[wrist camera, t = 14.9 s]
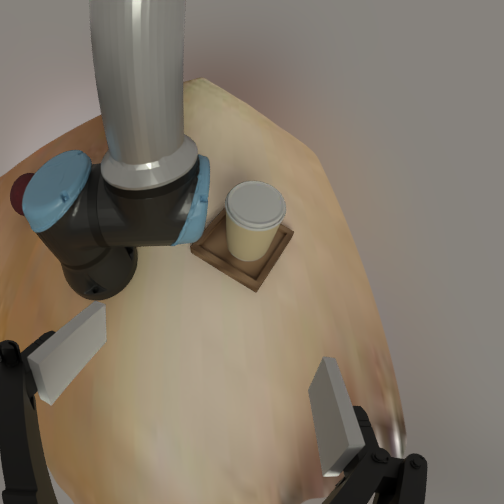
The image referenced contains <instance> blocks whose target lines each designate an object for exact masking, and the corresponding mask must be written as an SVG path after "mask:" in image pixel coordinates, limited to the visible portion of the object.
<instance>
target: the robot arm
mask: <svg viewBox="0 0 504 504" xmlns="http://www.w3.org/2000/svg"><path fill="white" fill-rule="evenodd" d="M89 4H90V5H89V7H90V29H91V42H92V53H93V63H94V70H95V78H96V85H97V91H98V98H99V103H100V109H101V115H102V120H103V125H104V130H105V134H106V139H107V143H108V148H109V150H108V151H107V152H106V154H105V155H104V157H103V159H102V162H101V164H92V163H91V159H90V157H88V156H87V155H86V154H85V153H83V152H82V151H80V150H70V151H66V152H63V153H61V154H59V155H57V156H55V157H53V158H52V159H50V160H49V161H48V162H46V163H45V164H44V165H43V166H42V167H41V168H40V169H39V170H38V171H37V172H36V173H35V174H34V176H33V177H32V178H31V180H30V181H29V183H28V185H27V187H26V189H25V192H24V195H23V200H22V209H23V213H24V215H25V217H26V218H27V220H28V222H29V223H30V226H31V229H32V230H33V231H34V232H35V233H36V234H37V235H38V236H39V238H40V239H41V240H42V241H43V242H44V244H45V245H46V246H47V247H48V248H49V249H50V251H51V252H52V253H53V254H54V255H55V256H56V257H57V259H58V260H59V261H60V262H61V265H62V269H63V272H64V276H65V278H66V280H67V282H68V284H69V285H70V287H71V288H72V289H73V290H74V291H75V292H76V293H77V294H79V295H80V296H82V297H84V298H86V299H89V300H104V299H107V298H110V297H112V296H114V295H116V294H118V293H119V292H120V291H122V290H123V289H124V288H125V287H126V286H127V285H128V283H129V282H130V280H131V279H132V277H133V275H134V273H135V270H136V267H137V250H136V247H138V246H175V245H177V244H186V243H193V242H196V241H197V240H199V239H200V237H201V236H202V234H203V231H204V227H205V222H206V216H207V207H208V199H207V198H208V193H209V184H210V163H209V159H208V158H207V157H206V156H202V155H199V154H198V149H197V146H196V144H195V142H194V141H193V140H192V139H191V138H190V137H188V136H187V135H185V134H184V115H183V53H184V24H185V7H186V0H89ZM106 341H107V339H106V304H103V303H100V302H98V301H94V302H93V303H92V304H90V305H89V306H88V307H87V308H85V309H84V310H83V311H82V312H80V313H79V314H78V315H77V316H75V317H74V318H73V319H72V320H70V321H69V322H68V323H67V324H66V325H64V326H63V327H62V328H61V329H60V330H58V331H57V332H54V331H50V332H47V333H44V334H43V335H42V336H41V337H39V339H37V340H36V341H35V342H34V343H32V344H31V345H30V346H28V347H27V348H26V349H25V350H24V351H23V352H21V353H20V349H19V345H18V344H17V343H16V342H14V341H11V340H5V341H2V342H0V453H1V462H2V469H3V475H4V481H5V486H6V488H5V490H4V491H2V499H3V503H4V504H58V502H57V499H56V496H55V493H54V490H53V487H52V484H51V480H50V476H49V473H48V469H47V465H46V461H45V457H44V452H43V447H42V442H41V437H40V431H39V425H38V417H37V410H36V400H35V396H34V394H35V393H36V392H37V391H38V393H39V396H40V399H42V400H43V401H45V402H47V403H48V404H50V405H52V404H53V403H54V402H55V400H56V399H57V398H58V397H59V396H60V394H61V393H62V392H63V391H64V390H65V388H66V387H67V386H68V385H69V384H70V383H71V381H72V380H73V379H74V378H75V377H76V375H77V374H78V373H79V372H80V371H81V370H82V369H83V367H84V366H85V365H86V364H87V363H88V362H89V360H90V359H91V358H92V357H93V356H94V355H95V354H96V353H97V351H98V350H99V349H100V348H101V347H102V346H103V345H104V344H105V342H106ZM308 393H309V398H310V404H311V409H312V415H313V420H314V426H315V431H316V437H317V443H318V449H319V455H320V461H321V467H322V473H323V476H338V475H339V474H340V473H341V472H342V471H344V475H345V476H344V477H343V479H342V480H341V481H340V482H339V483H338V484H337V485H335V486H336V487H335V489H334V490H333V491H332V492H331V493H330V495H329V496H328V497H327V498H326V499H325V501H324V502H323V503H322V504H367V503H368V501H369V500H370V498H371V497H372V495H373V493H374V492H375V497H374V500H373V504H424V501H425V492H426V481H427V461H426V460H425V458H424V457H422V456H421V455H419V454H410V455H409V456H407V457H406V458H405V459H400V458H393V457H391V456H390V454H389V453H388V452H387V451H386V450H385V449H383V448H380V447H379V445H378V442H377V440H376V437H375V434H374V431H373V429H372V427H371V424H370V421H369V418H368V416H367V413H366V412H365V411H364V410H363V408H362V407H361V406H352V404H351V401H350V398H349V395H348V392H347V389H346V387H345V384H344V381H343V378H342V376H341V373H340V370H339V367H338V365H337V362H336V359H335V358H330V357H323V358H322V360H321V363H320V365H319V367H318V370H317V372H316V374H315V376H314V379H313V381H312V383H311V385H310V387H309V389H308Z"/></svg>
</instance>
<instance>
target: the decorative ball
mask: <svg viewBox="0 0 504 504" xmlns="http://www.w3.org/2000/svg"><path fill="white" fill-rule="evenodd" d="M33 176H34V173H26V174H23V175H21V176H20V177H19V178H18V179H17V180H16V181H15V182H14V184H13V186H12V188H11V193H10V201H11V204H12V207H13V208H14V210H15V211H16V212H17V213H19V214H20V215H23V216H25V215H24V213H23V209H22V200H23V195H24V192H25V189H26V187H27V185H28V183H29V181H30V180H31V178H32V177H33Z"/></svg>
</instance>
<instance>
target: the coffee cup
mask: <svg viewBox="0 0 504 504" xmlns="http://www.w3.org/2000/svg"><path fill="white" fill-rule="evenodd" d="M225 208H226V237H227V246H228V249H229V251H230V252H231V254H232V255H233V256H234V257H236V258H238V259H240V260H242V261H255V260H258V259H260V258H261V257H262V256H264V255H265V253H266V252H267V250H268V248H269V246H270V244H271V242H272V240H273V238H274V236H275V234H276V232H277V230H278V228H279V225H280V223H281V222H282V220H283V218H284V216H285V213H286V204H285V201H284V198H283V196H282V195H281V193H280V192H279V191H278V190H277V189H275V188H274V187H273V186H271V185H269V184H267V183H264V182H260V181H247V182H243V183H240V184H238V185H236V186H235V187H234V188H233V189H232V190H231V191H230V192H229V193H228V195H227V197H226V200H225Z"/></svg>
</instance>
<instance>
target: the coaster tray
mask: <svg viewBox="0 0 504 504" xmlns="http://www.w3.org/2000/svg"><path fill="white" fill-rule="evenodd" d="M293 234H294V231H292V230H290V229H289V228H287V227H285V226H283V225H281V224H280V225H279V228H278V230H277V232H276V234H275V236H274V238H273V240H272V242H271V244H270V246H269V248H268V250H267V252H266V253H265V255H264V256H262V257H261V258H260V259H258V260H255V261H242V260H240V259H238V258H236V257H234V256H233V255H232V254H231V252H230V251H229V249H228V246H227V237H226V208H224V209H223V210H222V211H221V212H220V213H219V214H218V216H217V217H216V218H215V219H214V220H213V221H212V222H211V223H210V225H209V226H208V227H207V228H206V229H205V230H204V231H203V234H202V236H201V237H200V239H199V240H197V241H196V242H194V243H193V244H192V245H191V246H190V248H191V253H193V254H194V255H196V256H198V257H199V258H201V259H202V260H204V261H205V262H207V263H209V264H210V265H212V266H213V267H215V268H217V269H218V270H220V271H222V272H223V273H225V274H226V275H228V276H230V277H231V278H233V279H234V280H236V281H238V282H239V283H241V284H243V285H244V286H246V287H248V288H249V289H251V290H253V291H254V292H257V291H258V289H259V288H260V286H261V285H262V283H263V282H264V280H265V279H266V277H267V276H268V274H269V272H270V271H271V269H272V268H273V266H274V265H275V263H276V262H277V260H278V258H279V257H280V255H281V254H282V252H283V251H284V249H285V247H286V246H287V244H288V243H289V241H290V240H291V238H292V236H293Z"/></svg>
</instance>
